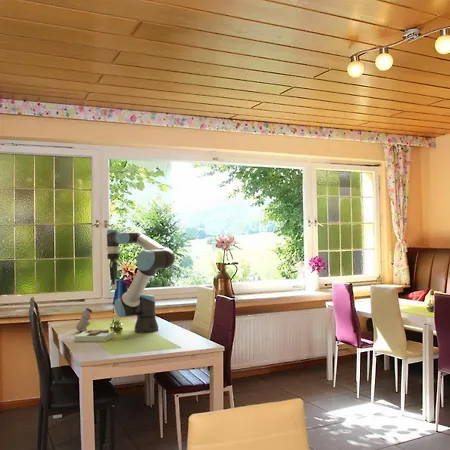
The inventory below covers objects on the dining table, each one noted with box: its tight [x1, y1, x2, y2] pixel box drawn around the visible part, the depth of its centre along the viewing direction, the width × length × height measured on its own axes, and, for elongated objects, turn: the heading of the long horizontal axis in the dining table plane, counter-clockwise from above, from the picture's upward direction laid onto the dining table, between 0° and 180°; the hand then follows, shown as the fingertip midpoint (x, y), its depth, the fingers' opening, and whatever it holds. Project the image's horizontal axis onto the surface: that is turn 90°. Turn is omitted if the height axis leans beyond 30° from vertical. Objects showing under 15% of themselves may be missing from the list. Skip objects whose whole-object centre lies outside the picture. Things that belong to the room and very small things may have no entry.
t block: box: [87, 329, 110, 336], centre depth 318 cm, size 12×12×4 cm
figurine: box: [75, 307, 93, 333], centre depth 340 cm, size 9×10×15 cm
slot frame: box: [74, 330, 115, 342], centre depth 316 cm, size 19×14×3 cm
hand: (114, 289), depth 343 cm, fingers closed
